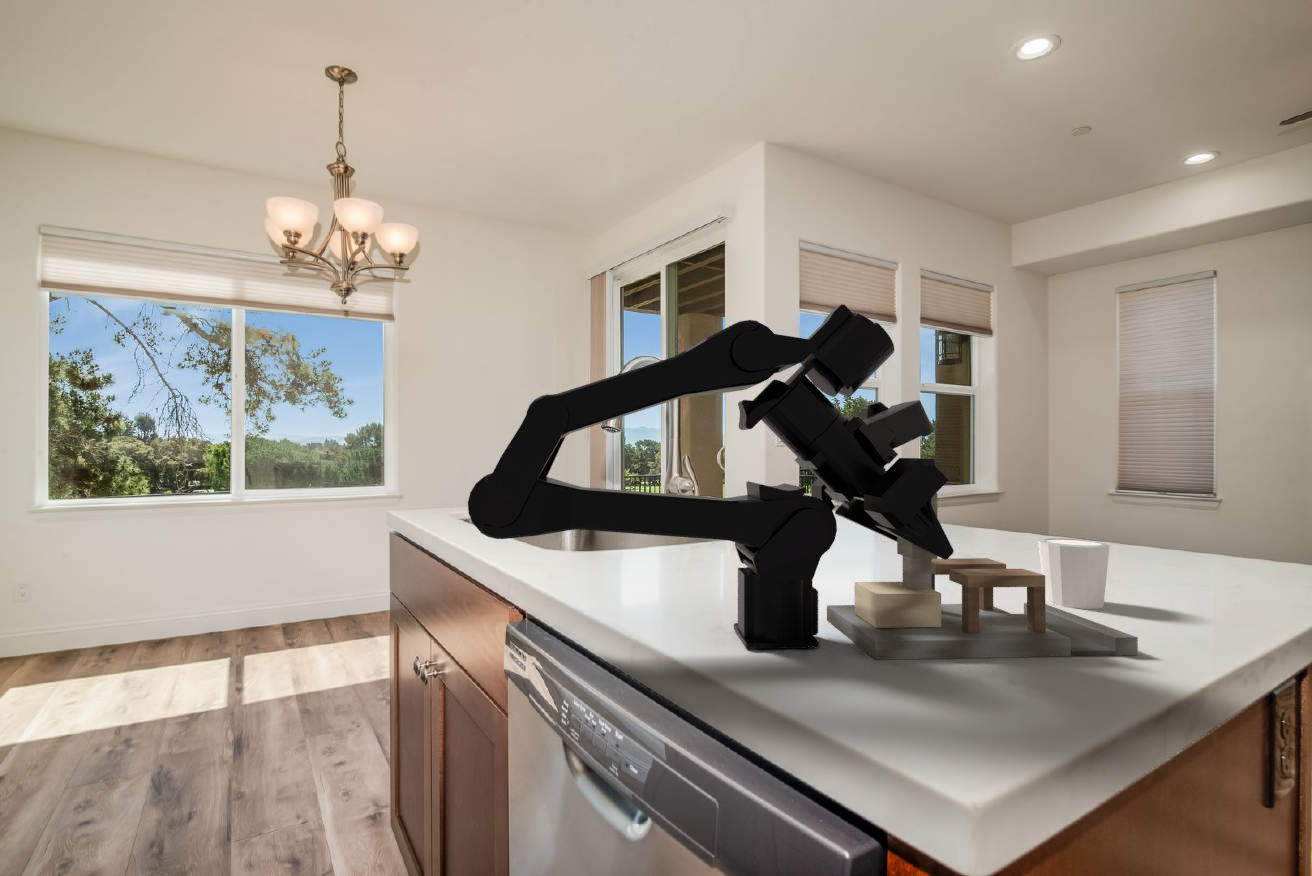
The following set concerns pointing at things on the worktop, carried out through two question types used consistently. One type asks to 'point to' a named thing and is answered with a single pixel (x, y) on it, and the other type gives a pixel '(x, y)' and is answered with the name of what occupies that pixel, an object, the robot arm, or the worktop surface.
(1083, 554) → the white cup
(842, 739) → the worktop surface
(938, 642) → the tunnel track
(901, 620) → the stacked block pedestal
